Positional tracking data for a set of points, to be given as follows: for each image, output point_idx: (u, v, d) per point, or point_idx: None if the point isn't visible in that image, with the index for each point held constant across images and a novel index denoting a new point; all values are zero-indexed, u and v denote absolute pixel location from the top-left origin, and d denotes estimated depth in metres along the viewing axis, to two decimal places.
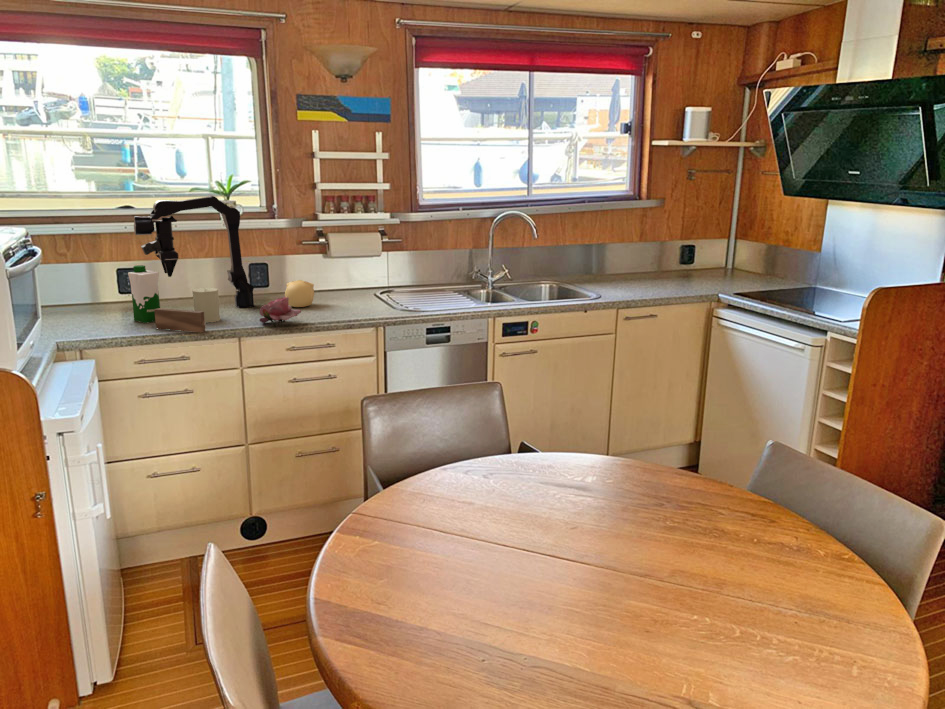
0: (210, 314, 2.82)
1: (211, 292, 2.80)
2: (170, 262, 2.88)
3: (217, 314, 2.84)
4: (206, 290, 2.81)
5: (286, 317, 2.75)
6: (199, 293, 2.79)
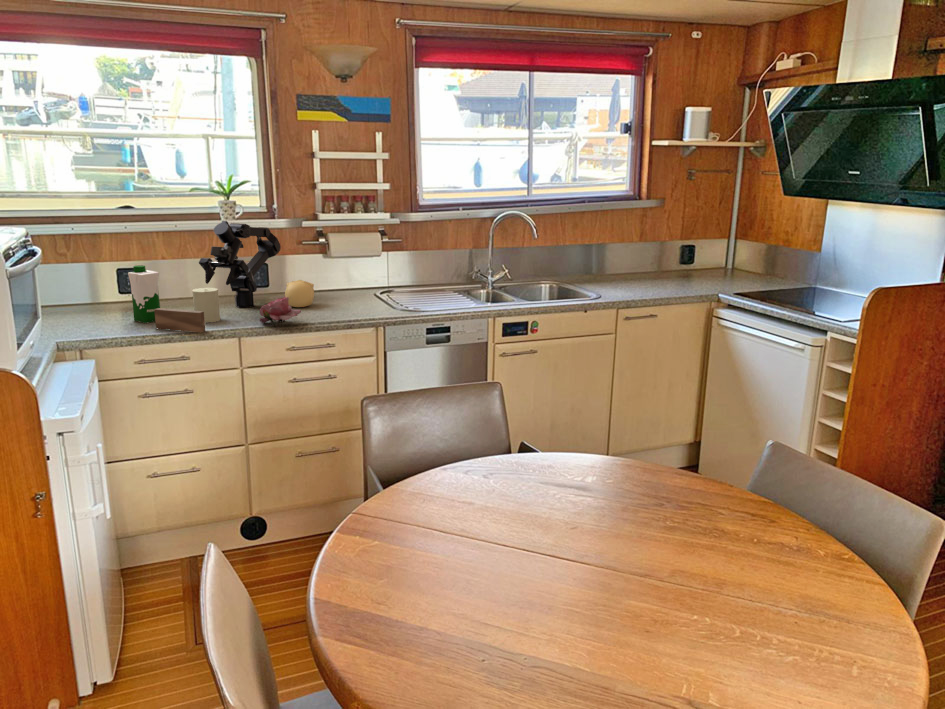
0: (210, 314, 2.82)
1: (211, 292, 2.80)
2: (234, 273, 2.92)
3: (217, 314, 2.84)
4: (206, 290, 2.81)
5: (286, 317, 2.75)
6: (199, 293, 2.79)
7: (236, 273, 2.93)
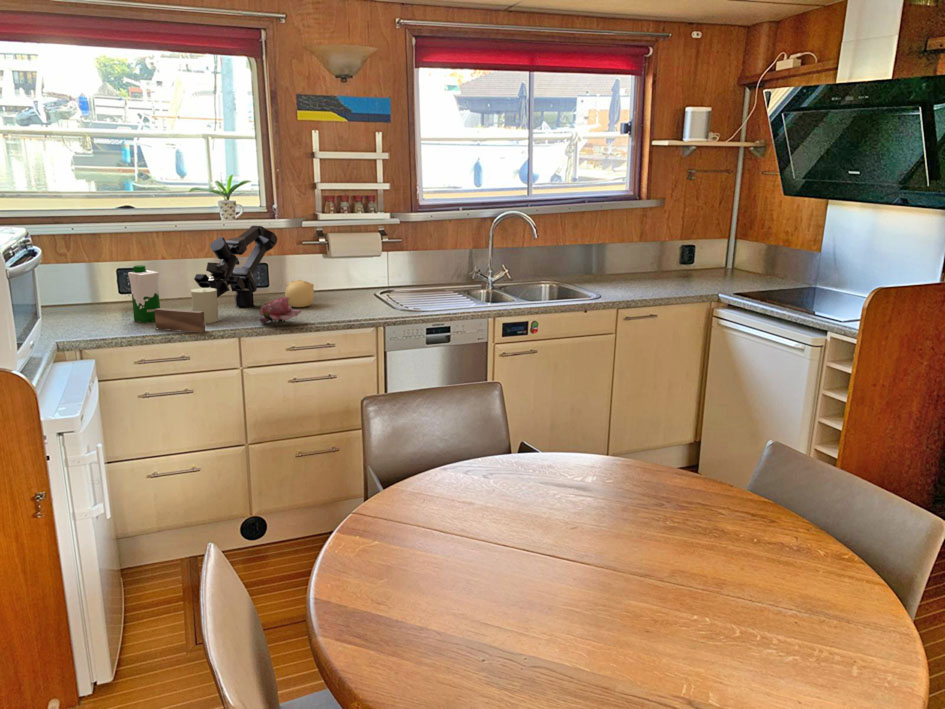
0: (209, 314, 2.81)
1: (210, 292, 2.80)
2: (221, 289, 2.91)
3: (216, 314, 2.84)
4: (205, 290, 2.80)
5: (286, 317, 2.75)
6: (198, 293, 2.78)
7: (222, 289, 2.91)
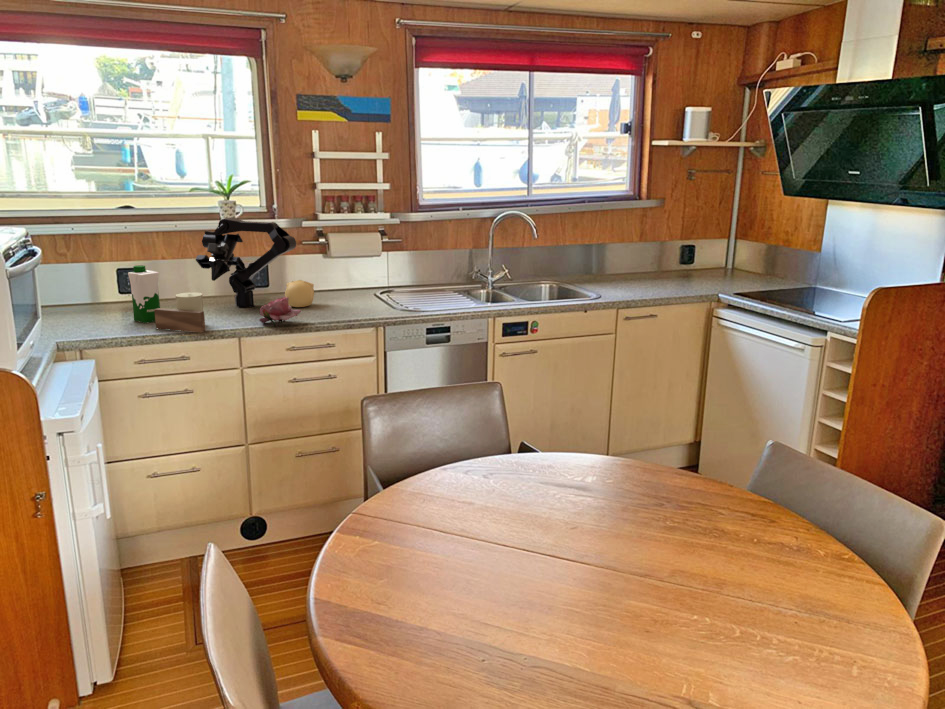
0: None
1: (196, 297, 2.71)
2: (221, 269, 3.00)
3: None
4: (190, 295, 2.71)
5: (286, 317, 2.75)
6: (183, 298, 2.69)
7: (223, 269, 3.00)
